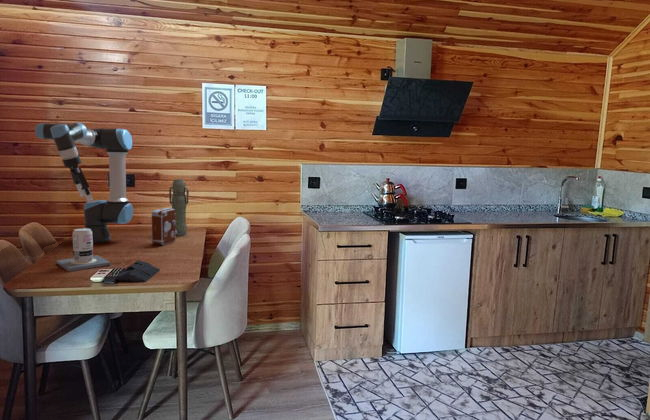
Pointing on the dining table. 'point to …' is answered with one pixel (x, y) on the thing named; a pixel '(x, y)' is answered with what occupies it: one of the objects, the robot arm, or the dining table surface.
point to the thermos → (179, 205)
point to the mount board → (73, 266)
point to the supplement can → (82, 245)
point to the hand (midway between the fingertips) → (87, 198)
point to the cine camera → (163, 226)
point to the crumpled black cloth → (138, 272)
